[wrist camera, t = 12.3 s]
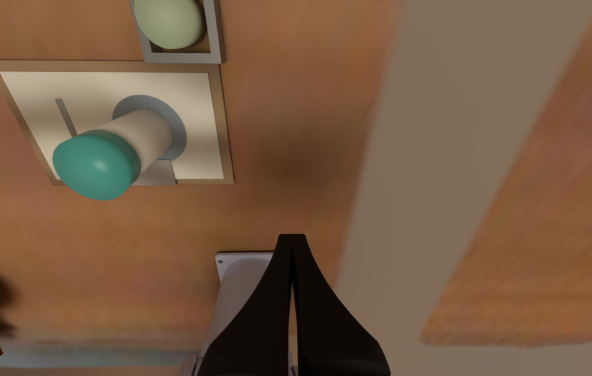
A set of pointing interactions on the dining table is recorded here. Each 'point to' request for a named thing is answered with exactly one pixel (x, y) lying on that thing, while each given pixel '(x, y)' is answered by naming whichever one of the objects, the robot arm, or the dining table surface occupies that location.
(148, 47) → the button housing
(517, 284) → the dining table surface
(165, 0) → the button
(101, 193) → the marker
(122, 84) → the clipboard
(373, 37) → the dining table surface
